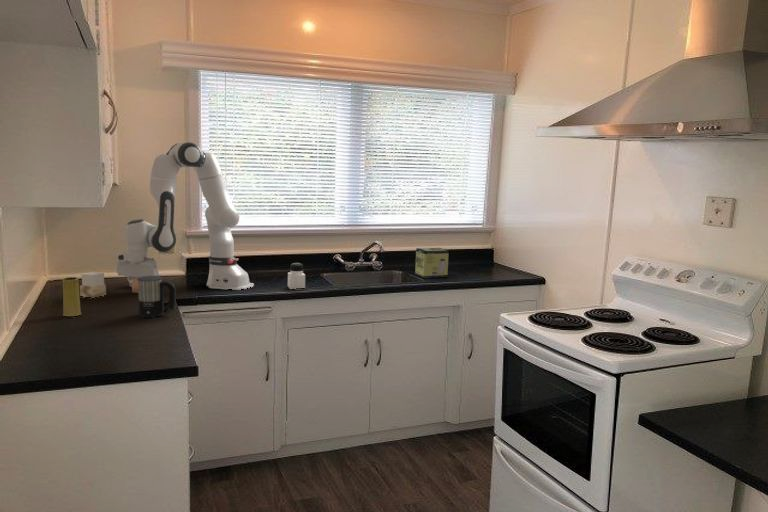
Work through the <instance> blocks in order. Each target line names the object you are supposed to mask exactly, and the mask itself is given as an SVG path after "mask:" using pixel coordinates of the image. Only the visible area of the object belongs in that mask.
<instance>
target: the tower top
mask: <svg viewBox="0 0 768 512" xmlns="http://www.w3.org/2000/svg"><path fill="white" fill-rule="evenodd" d="M104 284H105V273H104V272H99V271H98V272H97V271H90V272H84V273H81V285H83V286H90V287H95V286H100V285H104Z"/></svg>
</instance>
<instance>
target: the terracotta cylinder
mask: <svg viewBox="0 0 768 512" xmlns="http://www.w3.org/2000/svg"><path fill="white" fill-rule="evenodd" d="M131 291H132V292H131V293H133V294H138V279H137V278H136V277H133V278H132V287H131Z"/></svg>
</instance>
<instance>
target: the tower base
mask: <svg viewBox="0 0 768 512" xmlns="http://www.w3.org/2000/svg"><path fill="white" fill-rule="evenodd" d="M106 285H107V284H106V283H104V285H100V286H95V287H90V286H83V285H82V284H81V285H80V284H79V296H83V297H82V298H85V297H91V298H90V299H92V298H94V299H96V298H95V297H98V298H100V297H99V296H102V297H105V296H104V295H106V296H107V286H106Z"/></svg>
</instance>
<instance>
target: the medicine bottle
mask: <svg viewBox="0 0 768 512" xmlns="http://www.w3.org/2000/svg"><path fill="white" fill-rule="evenodd" d="M289 266H290V268H289V269H290V270H289V271H290V272H287V287H288V289H290V290H291V289H295V290H297V289H296V288H305V289H306V274H305V273H304V264H303V263H300V262H294V263H291V264H290V265H289Z"/></svg>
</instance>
